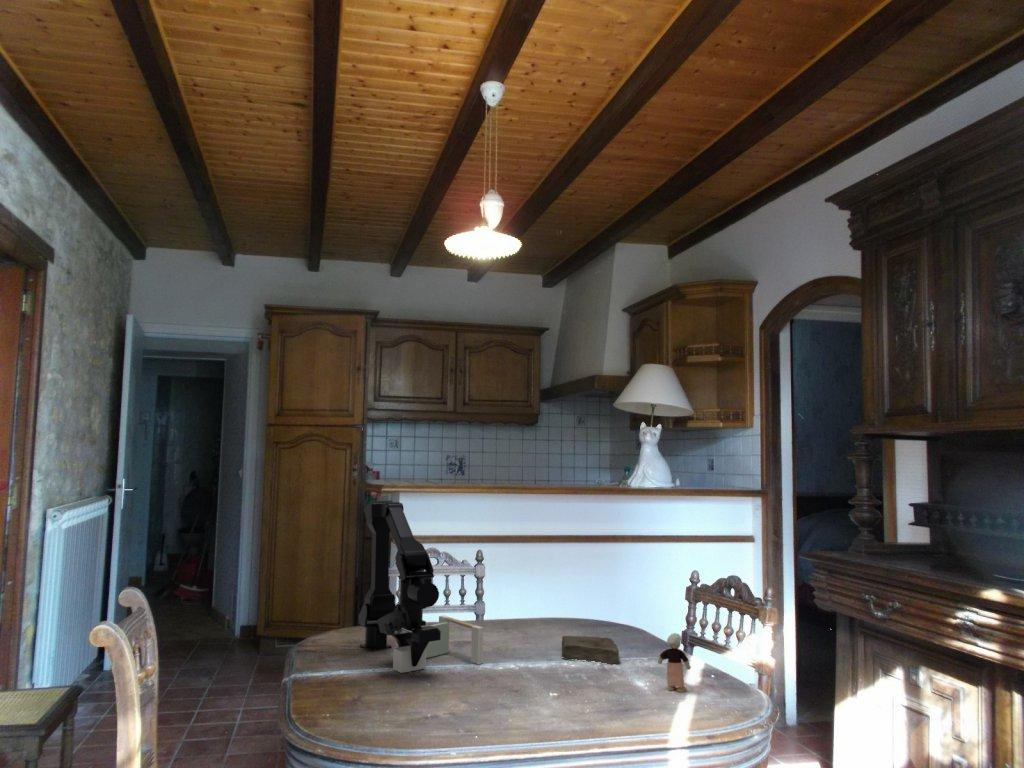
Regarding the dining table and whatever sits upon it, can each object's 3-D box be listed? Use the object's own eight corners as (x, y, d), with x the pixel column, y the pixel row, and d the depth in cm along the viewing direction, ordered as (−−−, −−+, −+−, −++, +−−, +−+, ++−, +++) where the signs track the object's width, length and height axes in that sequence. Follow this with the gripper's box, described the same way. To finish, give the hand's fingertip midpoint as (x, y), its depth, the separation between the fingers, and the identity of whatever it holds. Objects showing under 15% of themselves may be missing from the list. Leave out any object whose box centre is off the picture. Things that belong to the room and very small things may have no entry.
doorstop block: (392, 669, 196) (393, 648, 196) (417, 664, 200) (417, 644, 200) (401, 672, 192) (402, 651, 193) (425, 668, 197) (426, 647, 197)
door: (441, 650, 214) (442, 621, 215) (448, 652, 212) (448, 622, 213) (413, 658, 206) (414, 627, 207) (419, 659, 205) (420, 628, 205)
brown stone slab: (619, 666, 204) (619, 649, 204) (561, 664, 205) (561, 648, 205) (614, 649, 221) (614, 634, 221) (561, 648, 221) (561, 633, 222)
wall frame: (438, 649, 216) (438, 616, 217) (442, 649, 217) (443, 615, 217) (477, 664, 202) (478, 628, 203) (482, 663, 203) (483, 627, 204)
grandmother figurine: (692, 688, 184) (692, 632, 185) (690, 693, 181) (690, 636, 182) (658, 685, 187) (658, 629, 188) (656, 689, 183) (656, 633, 184)
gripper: (364, 597, 200) (362, 661, 199) (403, 610, 185) (401, 678, 184) (402, 592, 207) (400, 654, 205) (442, 604, 192) (441, 671, 191)
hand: (409, 664), depth 196 cm, fingers closed on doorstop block, 4 cm apart
